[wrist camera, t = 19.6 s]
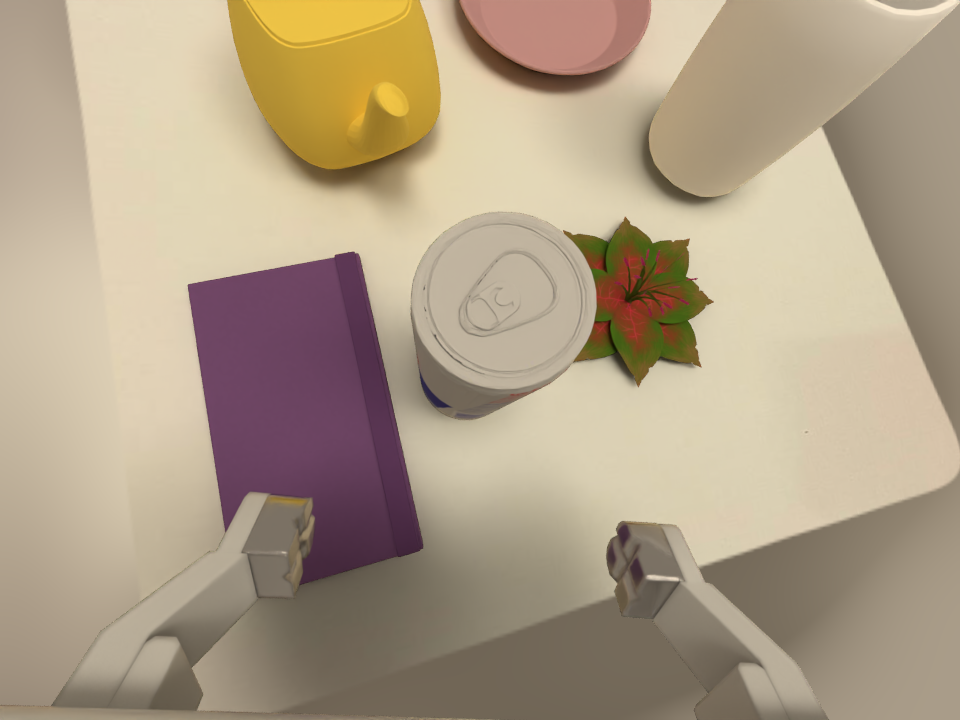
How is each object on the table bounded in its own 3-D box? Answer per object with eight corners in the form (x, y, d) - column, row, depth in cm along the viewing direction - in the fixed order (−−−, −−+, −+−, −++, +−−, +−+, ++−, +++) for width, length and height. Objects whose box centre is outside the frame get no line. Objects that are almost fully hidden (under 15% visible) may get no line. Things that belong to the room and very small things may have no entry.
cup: (712, 94, 33) (913, -154, 19) (764, 189, 32) (1017, -2, 18) (616, 124, 32) (760, -121, 18) (667, 225, 31) (863, 47, 17)
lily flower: (537, 213, 30) (556, 172, 25) (702, 224, 31) (748, 187, 27) (541, 388, 28) (562, 377, 23) (718, 392, 29) (772, 382, 24)
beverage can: (520, 345, 28) (620, 238, 13) (496, 431, 27) (577, 417, 12) (435, 319, 28) (442, 180, 13) (408, 405, 26) (381, 358, 12)
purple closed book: (423, 546, 25) (423, 550, 24) (240, 599, 23) (233, 605, 23) (359, 256, 28) (357, 250, 27) (192, 287, 26) (184, 282, 25)
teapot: (485, 201, 29) (516, 68, 19) (328, 261, 27) (267, 149, 17) (378, -11, 32) (353, -234, 21) (226, 30, 30) (114, -195, 19)
